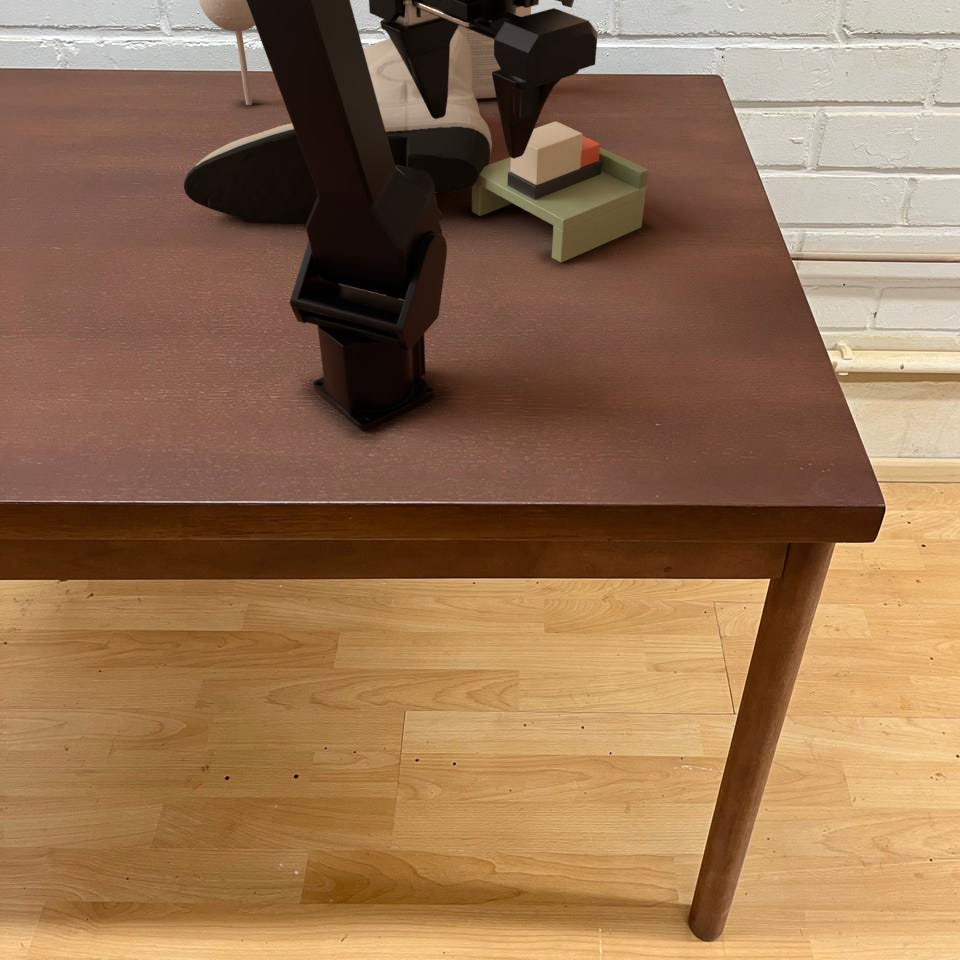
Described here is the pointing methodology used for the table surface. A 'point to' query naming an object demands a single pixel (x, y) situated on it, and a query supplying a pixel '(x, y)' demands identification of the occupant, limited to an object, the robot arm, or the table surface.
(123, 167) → the table surface
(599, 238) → the shoe shelf
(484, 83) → the white printed package
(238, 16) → the lollipop
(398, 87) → the cowboy boot
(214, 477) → the table surface
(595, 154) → the block
